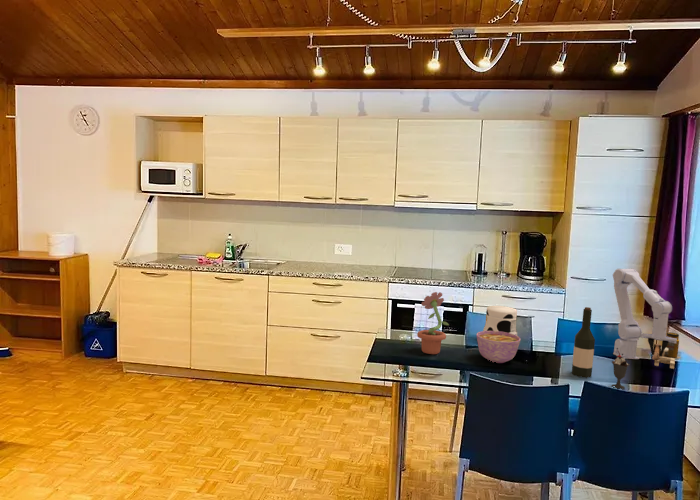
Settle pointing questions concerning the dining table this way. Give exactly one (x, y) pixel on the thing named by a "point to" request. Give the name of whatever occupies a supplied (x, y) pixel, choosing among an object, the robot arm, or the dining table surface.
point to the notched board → (666, 361)
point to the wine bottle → (584, 348)
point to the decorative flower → (431, 336)
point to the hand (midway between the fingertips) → (656, 355)
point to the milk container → (501, 319)
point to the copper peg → (656, 352)
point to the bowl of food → (497, 345)
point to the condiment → (672, 346)
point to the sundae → (619, 370)
